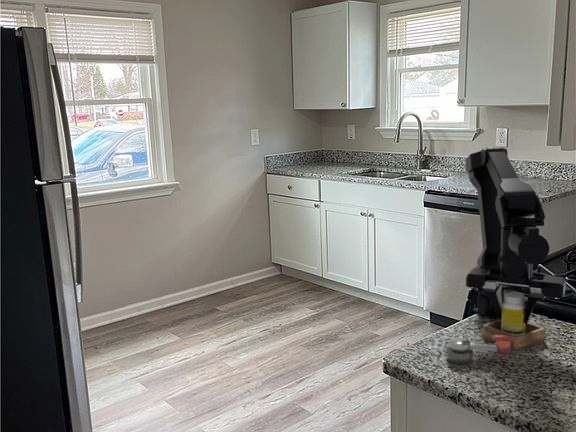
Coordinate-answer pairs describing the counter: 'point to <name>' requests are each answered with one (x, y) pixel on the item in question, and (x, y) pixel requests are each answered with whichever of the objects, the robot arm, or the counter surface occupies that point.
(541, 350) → the counter surface
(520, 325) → the supplement bottle
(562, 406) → the counter surface
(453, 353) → the block
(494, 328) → the tray
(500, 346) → the crank
